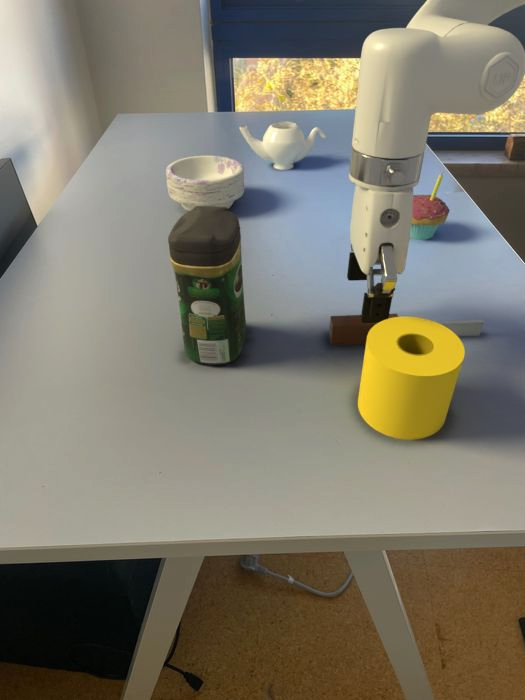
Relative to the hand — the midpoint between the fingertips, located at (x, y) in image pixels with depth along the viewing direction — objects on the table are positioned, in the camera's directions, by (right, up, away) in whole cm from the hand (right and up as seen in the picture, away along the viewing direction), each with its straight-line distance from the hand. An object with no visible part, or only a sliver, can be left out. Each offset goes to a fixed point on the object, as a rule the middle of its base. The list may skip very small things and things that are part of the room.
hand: (366, 299), depth 66 cm
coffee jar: (-20, -6, +4) cm, 21 cm away
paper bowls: (-24, +23, +40) cm, 52 cm away
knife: (+5, -5, +4) cm, 9 cm away
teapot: (-8, +37, +56) cm, 68 cm away
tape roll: (+3, -13, -6) cm, 15 cm away
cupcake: (+15, +14, +28) cm, 35 cm away
